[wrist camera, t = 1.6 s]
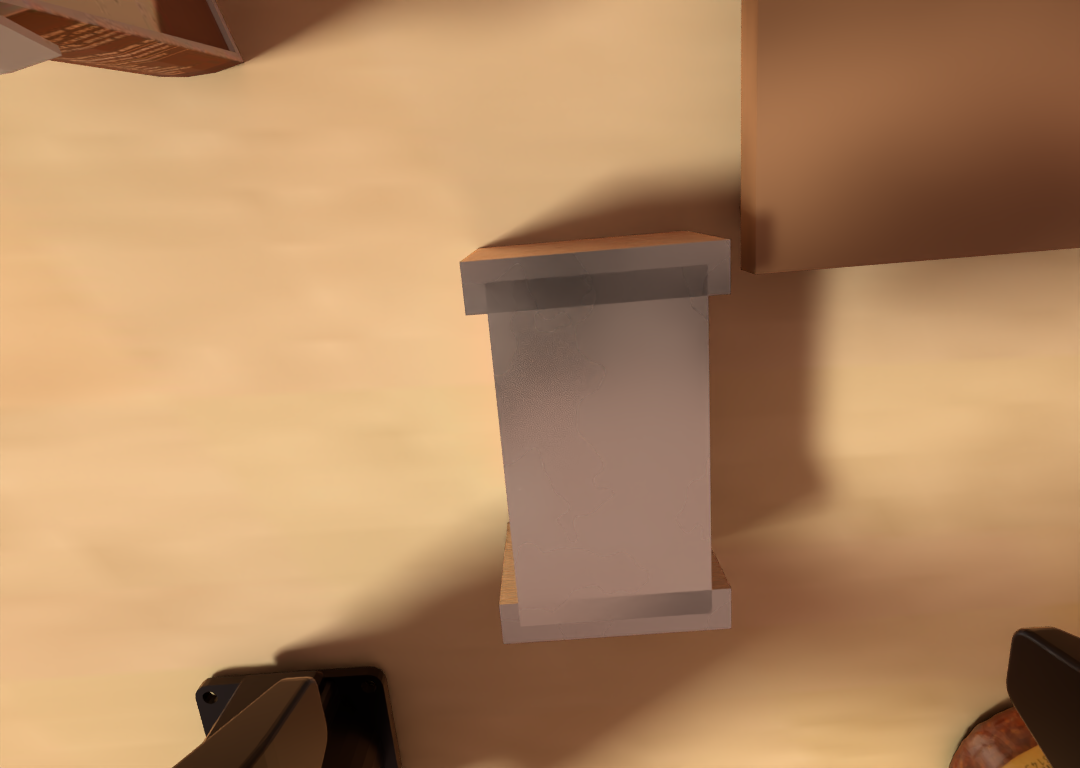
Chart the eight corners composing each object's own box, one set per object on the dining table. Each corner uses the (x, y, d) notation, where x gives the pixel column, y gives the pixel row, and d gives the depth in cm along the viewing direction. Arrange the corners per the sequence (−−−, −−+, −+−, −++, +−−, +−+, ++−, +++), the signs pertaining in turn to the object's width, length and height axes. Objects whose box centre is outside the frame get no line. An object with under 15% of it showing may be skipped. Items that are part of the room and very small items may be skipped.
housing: (692, 541, 21) (731, 628, 17) (511, 554, 21) (503, 644, 17) (686, 230, 19) (730, 239, 14) (478, 248, 19) (459, 262, 14)
